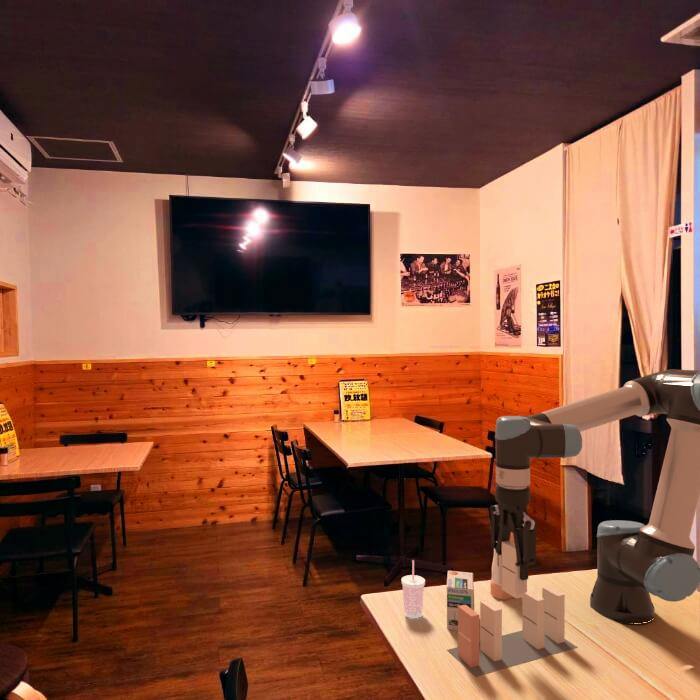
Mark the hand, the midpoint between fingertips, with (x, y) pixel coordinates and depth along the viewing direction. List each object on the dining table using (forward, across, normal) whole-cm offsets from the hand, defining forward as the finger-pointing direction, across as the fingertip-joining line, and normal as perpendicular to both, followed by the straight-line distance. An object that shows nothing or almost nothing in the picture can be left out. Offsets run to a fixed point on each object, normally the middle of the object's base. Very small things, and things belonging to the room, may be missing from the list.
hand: (512, 587), depth 125 cm
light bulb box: (+15, -16, -3) cm, 22 cm away
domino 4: (+14, 0, +12) cm, 18 cm away
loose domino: (+1, 0, 0) cm, 1 cm away
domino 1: (+14, 0, -12) cm, 18 cm away
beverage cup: (+15, -24, -12) cm, 31 cm away
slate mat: (+15, 0, 0) cm, 15 cm away
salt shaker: (+15, -24, +17) cm, 33 cm away
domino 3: (+14, 0, +6) cm, 15 cm away
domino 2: (+14, 0, -6) cm, 15 cm away
